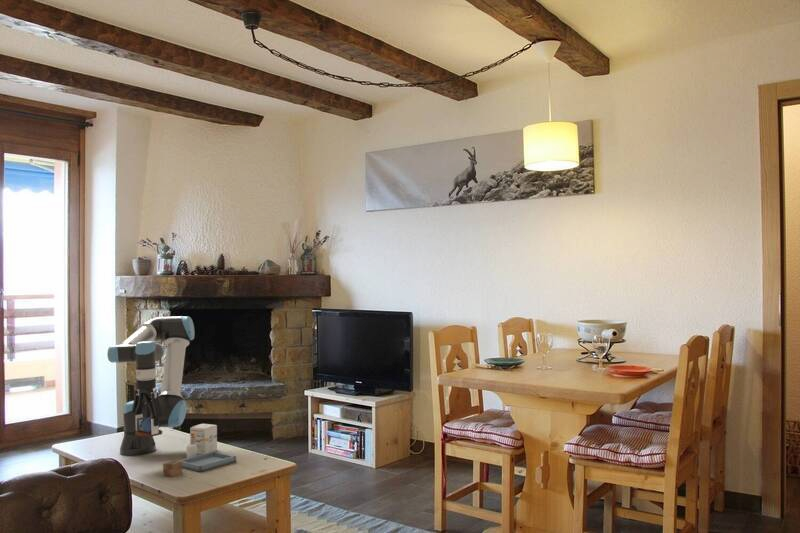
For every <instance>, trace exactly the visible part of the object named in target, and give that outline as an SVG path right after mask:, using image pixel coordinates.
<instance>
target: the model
mask: <svg viewBox="0 0 800 533" xmlns="http://www.w3.org/2000/svg"><path fill="white" fill-rule="evenodd" d="M154 415H155V414H154ZM151 418H152V415H151V417H149V418H146V419H145V417H141V418H137V419H136V424H137V430H136V433H135V435H138V436H141V437H152V436H153V437H155V436H160V435H162V434H163V432H164V431H162V430H161V429H159V428H160V427H159V425H158V434H153V435H152V434H151ZM142 419H143V421H141V425H140V426H139V420H142ZM158 423H159V422H158ZM139 427H140V430H139Z"/></svg>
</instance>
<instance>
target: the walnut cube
mask: <svg viewBox="0 0 800 533" xmlns="http://www.w3.org/2000/svg"><path fill="white" fill-rule="evenodd" d="M182 474H183V468H182V461H179V460H173V459H172V460H169V461H165V462H164V463H163V464H162V476H163V477H167V478H175V477H177V476H180V475H182Z"/></svg>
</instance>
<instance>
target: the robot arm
mask: <svg viewBox="0 0 800 533" xmlns="http://www.w3.org/2000/svg"><path fill="white" fill-rule="evenodd" d="M194 339H195V324H194V322H193V319H192V318H191V317H190V316H189V315H187V316H183V315H180V316H176V315H175V316H157V317H153V318H150V319H148V320H146V321H144V322H143V323H141V324H140V325H138V327H137V328H136V330H135V332H133V333H132V334H131V335H130V336H128V337H127V338H126V339H125V340H123V341H122V342H121V343H120V344H112V345H110V346H108V349H107V354H106V355H107V359H108V361H109V362H110V363H117V364H119V363H120V364H121V363H135V369H136V371H135V375H136V376H135V377H136V378H135V379H136V381H135V383H136V386H135V387H136V390H134V397H133V400H131V401H130V400H129V401H128V402H125V403H124V406H123V436H122V440H121V444H120V447H119V454H121V455H124V456H138V455H144V454H145V455H146V454H148V453H152V452H155V451H156V448H157V447H156V446H157V445H156V441H155V439H154V436H152V437H141V436H138V435H135V433H136V430H137V424H136V419H137V418H141V417H145V419H146V418H149V417H151V415H152V418H151V434H152V435H153V434H158V425H159V428H175V427H180V426H181V425H182V424H183V422H184V420H185V419H186V414H187V407H188V406H187V402H186V400H184V397H183V396H182V394H181V391H182V384H183V375H184V373H183V372H184V366H185V359H186V358H185V356H186V348H187V347H188V346H189V345H190V341H193V340H194ZM156 341H160V342H162V341H163V343H164V344H165V345H166V350H165V347H164V345H162V344H161V343H158V342H156ZM164 355H165V361H164V367H163V373H162V374H163V375H162V383H161V390H160V391H161V392H160V394H159V392H154V389H155V388H156V387H157V383H156V382H157V380H156V378H157V376H156V374H157V372H156V362H157V361H159V360H161V359H162V358H163V357H164ZM154 414H155V415H154ZM141 421H143V419H142V420H139V426H140V425H141ZM158 422H159V423H158ZM139 430H140V427H139Z"/></svg>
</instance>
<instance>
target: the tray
mask: <svg viewBox="0 0 800 533" xmlns="http://www.w3.org/2000/svg"><path fill="white" fill-rule="evenodd" d="M178 461H182V469H185V470H190V471H192V472H197V473H202V472H206V471H209V470H212V469H216V468H219V467H224V466H227V465H230V464H234V463H236V462H237V456H236V455H232V454H228V453H223V452H219V451H213V452H209V453H206V454H197V456H194V457H190V458H187V457H186V458H183V459H179V460H178Z"/></svg>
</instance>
